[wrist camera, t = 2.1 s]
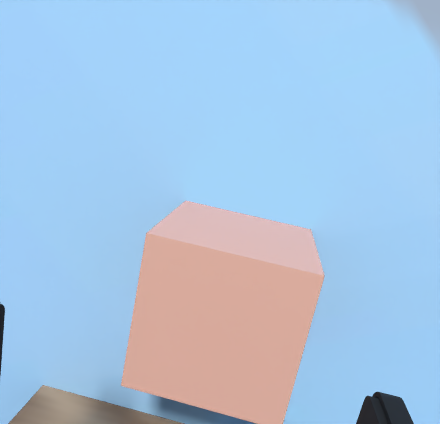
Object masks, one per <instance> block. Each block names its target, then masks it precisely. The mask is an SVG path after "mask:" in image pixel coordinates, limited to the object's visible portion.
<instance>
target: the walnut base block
mask: <svg viewBox="0 0 440 424" xmlns="http://www.w3.org/2000/svg"><path fill="white" fill-rule="evenodd" d="M9 424H184V423H180V422H176V421H173V420H169V419H165V418H162V417H158V416H154V415H151V414H147V413H143V412H140V411H136V410H132V409H129V408H125V407H121V406H118V405H114V404H110V403H107V402H103V401H99V400H96V399H92V398H88V397H85V396H81V395H77V394H74V393H70V392H66V391H63V390H59V389H55V388H52V387H48V386H44V385H43V386H42V387H41V388H40V389H39V390H38V391H37V392H36V393H35V395H34V396H33V397H32V398H31V399H30V400H29V401H28V402H27V403H26V405H25V406H24V407H23V408H22V409H21V410H20V411H19V412H18V413H17V415H16V416H15V417H14V418H13V419H12V420H11V421H10V422H9Z"/></svg>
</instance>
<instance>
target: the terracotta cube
mask: <svg viewBox="0 0 440 424" xmlns="http://www.w3.org/2000/svg"><path fill="white" fill-rule="evenodd" d="M323 280H324V272H323V269H322V266H321V262H320V259H319V255H318V252H317V248H316V245H315V241H314V238H313V234H312V231H311V229H306V228H302V227H298V226H293V225H289V224H285V223H280V222H276V221H272V220H267V219H263V218H259V217H254V216H250V215H246V214H242V213H237V212H233V211H229V210H224V209H220V208H216V207H211V206H207V205H203V204H198V203H194V202H190V201H185V202H183V203H182V204H181V205H180V206H179V207H177V208H176V209H175V210H174V211H172V212H171V213H170V214H169V215H168V216H166V217H165V218H164V219H163V220H162V221H160V222H159V223H158V224H157V225H156V226H154V227H153V228H152V229H151V230H149V231H148V232H147V233H146V239H145V245H144V251H143V257H142V263H141V269H140V275H139V281H138V287H137V293H136V299H135V305H134V311H133V317H132V323H131V329H130V335H129V341H128V347H127V353H126V359H125V365H124V371H123V377H122V383H121V386H124V387H128V388H131V389H135V390H138V391H142V392H145V393H149V394H153V395H156V396H160V397H163V398H167V399H171V400H174V401H178V402H181V403H185V404H189V405H192V406H196V407H199V408H203V409H206V410H210V411H214V412H217V413H221V414H224V415H228V416H232V417H235V418H239V419H242V420H246V421H250V422H253V423H257V424H283V421H284V418H285V414H286V411H287V407H288V404H289V400H290V397H291V393H292V389H293V386H294V382H295V379H296V375H297V372H298V368H299V365H300V361H301V358H302V354H303V350H304V347H305V343H306V340H307V336H308V333H309V329H310V326H311V322H312V319H313V315H314V311H315V308H316V304H317V301H318V297H319V294H320V290H321V287H322V283H323Z"/></svg>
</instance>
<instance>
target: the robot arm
mask: <svg viewBox="0 0 440 424" xmlns="http://www.w3.org/2000/svg"><path fill="white" fill-rule="evenodd" d="M4 315H5V308H4V306H3V305H2V304H0V374H1V359H2V344H3V330H4ZM356 424H414V423H413V421H412V419H411V417H410V414H409V412H408V410H407V408H406V406H405V404H404V401H403V400H402V398H400V397H397V396H393V395H389V394H385V393H381V392H375V393H374V394H373V397H371V396H366V398H365V400H364V402H363V405H362V408H361V411H360V414H359V417H358V420H357V423H356Z"/></svg>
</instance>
